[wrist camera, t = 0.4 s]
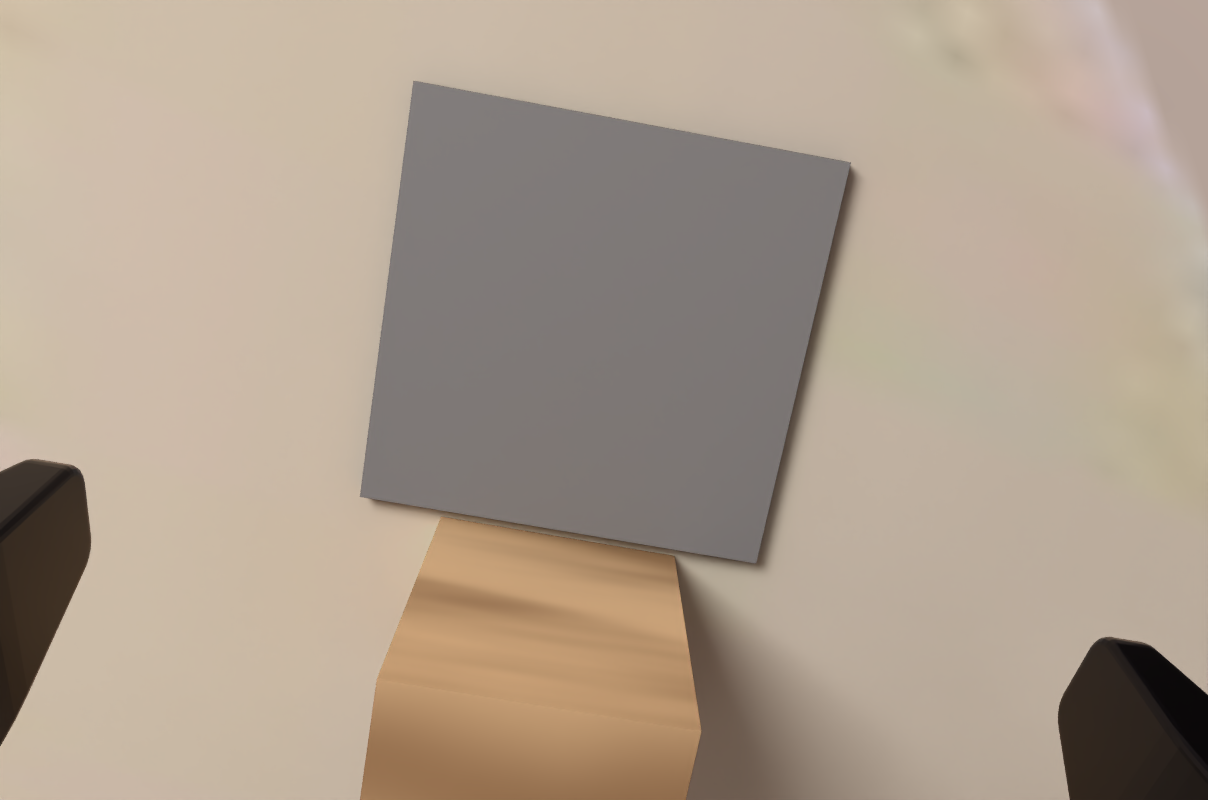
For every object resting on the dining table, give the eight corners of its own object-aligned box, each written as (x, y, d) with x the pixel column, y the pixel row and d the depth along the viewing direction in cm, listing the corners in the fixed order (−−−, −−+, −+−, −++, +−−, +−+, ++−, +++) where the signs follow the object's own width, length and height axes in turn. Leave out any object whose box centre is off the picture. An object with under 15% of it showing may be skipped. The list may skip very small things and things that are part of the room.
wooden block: (641, 709, 29) (654, 932, 21) (417, 673, 28) (348, 885, 21) (674, 555, 28) (701, 731, 20) (441, 516, 27) (376, 678, 20)
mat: (754, 557, 27) (755, 563, 27) (363, 491, 27) (359, 496, 27) (846, 161, 25) (850, 162, 24) (416, 81, 24) (413, 81, 24)
